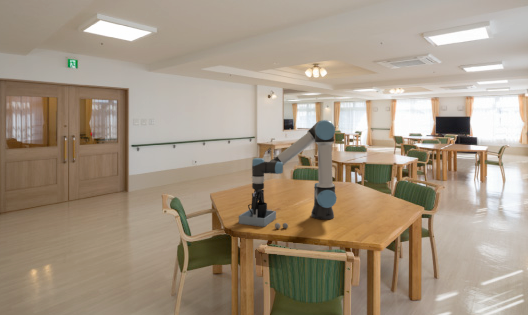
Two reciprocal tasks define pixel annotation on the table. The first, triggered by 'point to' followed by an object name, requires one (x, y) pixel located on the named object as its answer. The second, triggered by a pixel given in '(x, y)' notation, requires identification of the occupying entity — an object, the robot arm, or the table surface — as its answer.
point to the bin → (250, 220)
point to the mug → (260, 209)
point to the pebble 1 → (277, 225)
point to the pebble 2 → (285, 225)
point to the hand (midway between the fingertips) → (257, 217)
